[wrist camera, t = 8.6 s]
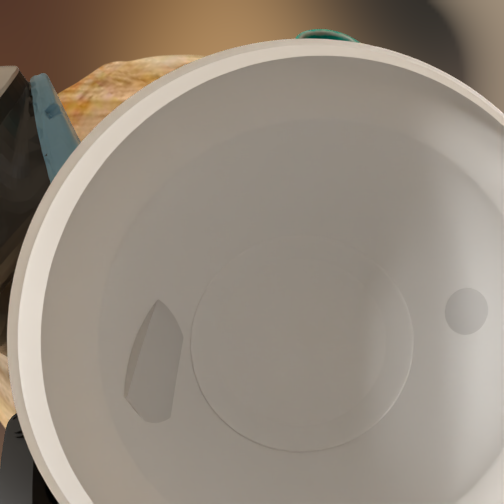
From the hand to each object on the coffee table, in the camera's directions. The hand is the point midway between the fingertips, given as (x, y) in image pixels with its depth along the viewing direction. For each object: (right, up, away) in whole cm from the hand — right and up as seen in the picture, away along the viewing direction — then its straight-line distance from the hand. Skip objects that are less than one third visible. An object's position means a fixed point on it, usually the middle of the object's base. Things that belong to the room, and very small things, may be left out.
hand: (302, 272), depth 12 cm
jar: (+1, -5, +5) cm, 7 cm away
